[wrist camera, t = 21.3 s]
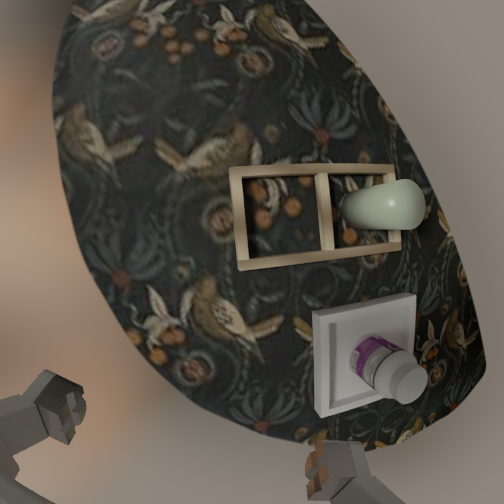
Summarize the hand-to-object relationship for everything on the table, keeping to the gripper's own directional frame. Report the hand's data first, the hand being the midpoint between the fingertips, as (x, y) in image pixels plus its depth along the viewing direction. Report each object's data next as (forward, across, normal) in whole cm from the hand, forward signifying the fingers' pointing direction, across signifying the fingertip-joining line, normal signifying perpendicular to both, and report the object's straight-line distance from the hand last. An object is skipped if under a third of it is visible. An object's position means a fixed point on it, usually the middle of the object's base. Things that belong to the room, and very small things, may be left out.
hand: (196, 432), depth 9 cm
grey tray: (+23, -17, +10) cm, 30 cm away
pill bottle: (+22, -17, +10) cm, 30 cm away
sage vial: (+26, -12, -6) cm, 30 cm away
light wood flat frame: (+25, -8, -4) cm, 27 cm away
